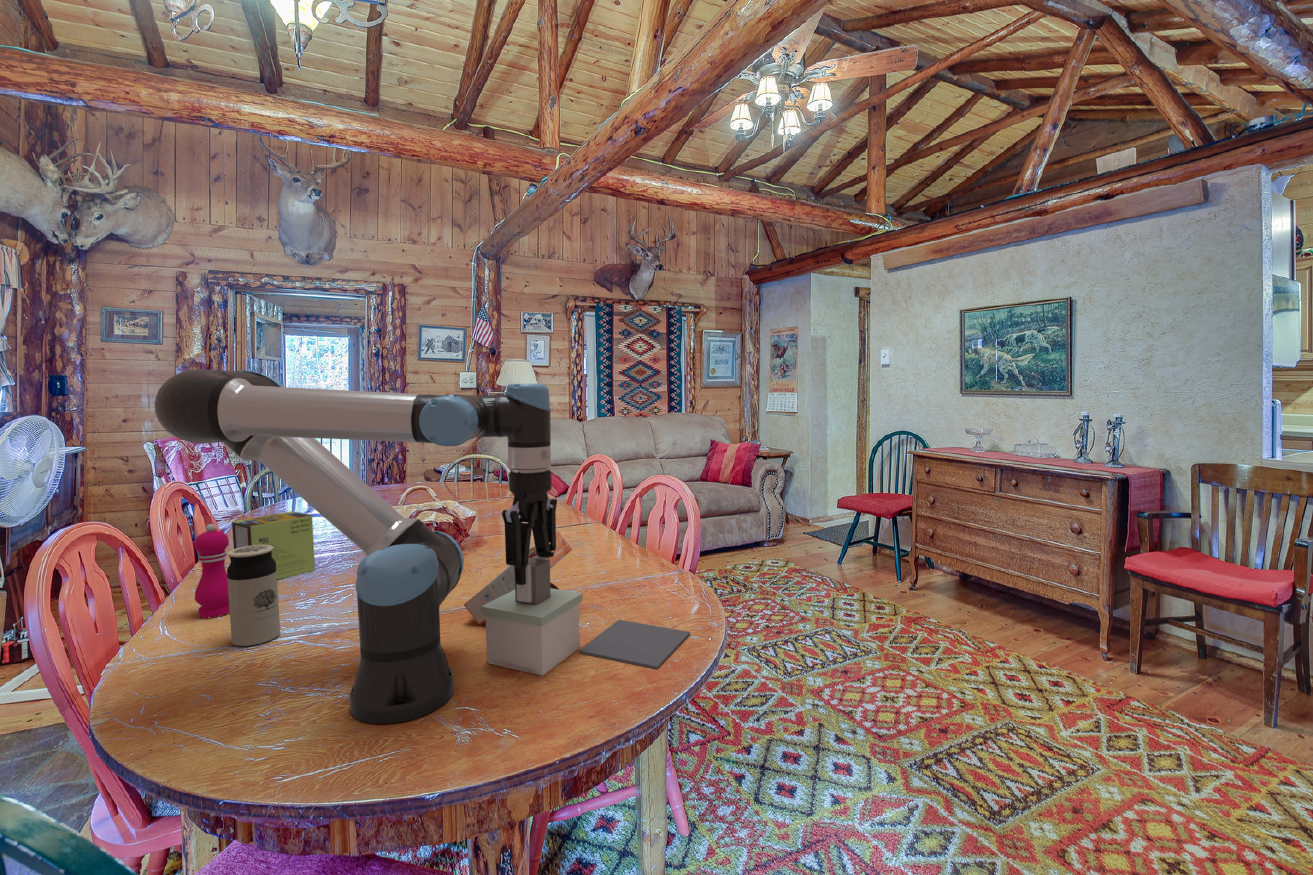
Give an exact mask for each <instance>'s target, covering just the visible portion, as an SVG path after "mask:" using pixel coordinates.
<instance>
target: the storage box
mask: <svg viewBox="0 0 1313 875" xmlns="http://www.w3.org/2000/svg"><path fill="white" fill-rule="evenodd" d="M485 617H486V621H485V640H486V643H485V644H486V645H485V646H486V664H490V665H493V666H494V665H495V666H498V667H504V668H507V669H511V670H515V671H520V672H523V673H528V674H533V675H537V676H541V677H543V676H544V675H545V674H547V673H548V672H550V671H551V670H552V669H554V668H555V667H556V666H558V665H559V664H560V663H562V662H563V661H565V659H567V658H568V657H570V656H571V655H572V654H574V653H575V652H576V651H577V650H580V649H581V647H580V643H581V642H580V603H579V604H577V605H575V606H574V607H572V608H571V609H569V610H567V611H566V612H564V613H563V614H561V615H559V616H558V617H556V618H555V619H553V620H551V621H550V622H548V623H547V624H545V625H543V626H538V625H533V624H527V623H522V622H517V621H512V620H506V619H501V618H496V617H491V616H486V615H485Z"/></svg>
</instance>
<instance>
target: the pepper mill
mask: <svg viewBox="0 0 1313 875" xmlns="http://www.w3.org/2000/svg"><path fill="white" fill-rule="evenodd" d="M216 528H217V527H216V525H215V524H213V523H210V524H207V525H206V526H205V532H202V533H200V534H199V535H197V537H196V539H195V540H194V548H195V551H196V552H198V553H199V554H198V556H197V557H198V562H199V563H200V564H201V568H202V569H201V575H200V576H201V577H200V580H199V582H198V584H197V586H196V589H195V591H194V601H195V602H196V603H197V604H199V605H200V606H199V607H198V610H197V611H198V617H199V616H200V617H204V618H203V619H209V618H208V617H216V618H218V617H217V616H220V615H224V614H227V613H229V614H230V608H229V593H228V578H227V569H226V566H225V562H226V559H227V558H228V555H227V553H228V552H227V551H226V549H227V547H228V546H229V543H230V542H229V540H230V539H229V537H228V535H227V534H226V533H224V532H223V531H220V530H216ZM227 615H228V614H227ZM224 616H225V615H224ZM200 617H199V618H200ZM220 617H221V616H220Z"/></svg>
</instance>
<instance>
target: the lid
mask: <svg viewBox="0 0 1313 875" xmlns="http://www.w3.org/2000/svg"><path fill="white" fill-rule="evenodd" d="M528 565H530V566H531V588H532V601H531V602H530V603H528V602H523V601H517V584H516V582H515V590H513V591H511V592H509V593H507V594H505V595H503V596H501V597H499V598H497V599H495V600H493V601H491V602H489V603H487V604H485V605H483V606H481V615H486V616H491V617H496V618H501V619H506V620H512V621H517V622H522V623H527V624H533V625H538V626H543V625H545V624H547V623H548V622H550V621H551V620H553V619H555V618H556V617H558V616H559V615H561V614H563V613H564V612H566V611H567V610H569V609H571V608H572V607H574V606H575V605H577V604H579V605H580V603H581V602H583V592H577V591H569V590H565V589H552V588H550V583H551V569H550V560H544V559H536V558H528Z"/></svg>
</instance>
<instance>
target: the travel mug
mask: <svg viewBox="0 0 1313 875" xmlns="http://www.w3.org/2000/svg"><path fill="white" fill-rule="evenodd" d="M273 549H274V547H273V546H271V545H253V546H246V547H241V548H237V549H234V548H233V549H231V550H229V551H228V552H227V553H226V555H227V557H229V560H230V563H229V565H228V567H227V569H226V573H227V578H228V593H229V608H230V613H229V620H230V633H231V636H230V638H231V643H232V645H234V646H238V645H239V646H238V647H250V646H249V645H253V646H256V645H255V644H258V645H260V644H259V643H262V644H264V643H263V642H265V643H268V642H270V641H273V640H274V639H275V637H276V638H277V637H279V635H280V634H281V619H280V606H279V591H278V590H279V589H278V588H279V587H278V580H277V569H276V562H275V560H274V559H273V558H272V550H273ZM267 641H268V642H267Z"/></svg>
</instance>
